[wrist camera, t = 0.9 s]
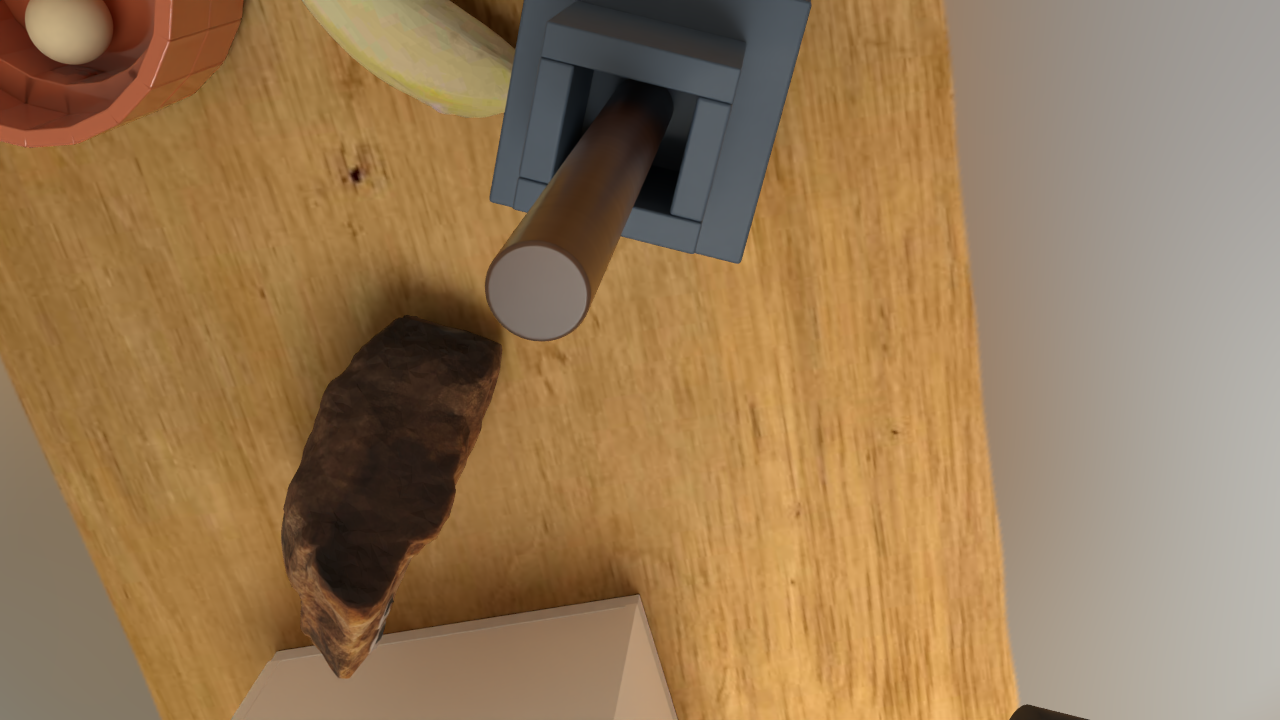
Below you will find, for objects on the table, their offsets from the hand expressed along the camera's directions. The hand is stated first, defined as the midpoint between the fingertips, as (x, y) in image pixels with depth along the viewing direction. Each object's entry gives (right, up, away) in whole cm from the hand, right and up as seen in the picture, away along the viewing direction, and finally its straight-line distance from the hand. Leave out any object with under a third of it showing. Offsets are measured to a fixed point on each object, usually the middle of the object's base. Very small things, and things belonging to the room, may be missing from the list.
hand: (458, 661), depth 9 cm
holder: (+3, +13, +32) cm, 35 cm away
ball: (-19, +14, +32) cm, 40 cm away
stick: (+1, +9, +21) cm, 23 cm away
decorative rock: (-8, -1, +40) cm, 41 cm away
